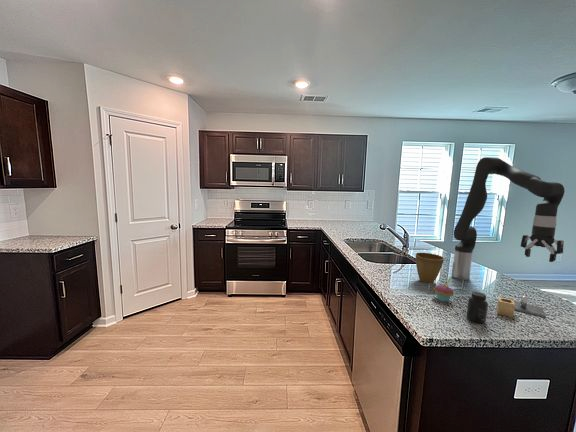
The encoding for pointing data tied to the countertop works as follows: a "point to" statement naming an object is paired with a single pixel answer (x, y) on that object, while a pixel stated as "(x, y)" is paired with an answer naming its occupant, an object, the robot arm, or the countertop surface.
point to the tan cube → (505, 307)
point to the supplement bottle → (477, 308)
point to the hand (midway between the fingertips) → (539, 259)
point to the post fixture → (528, 307)
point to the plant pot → (428, 266)
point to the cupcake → (444, 292)
